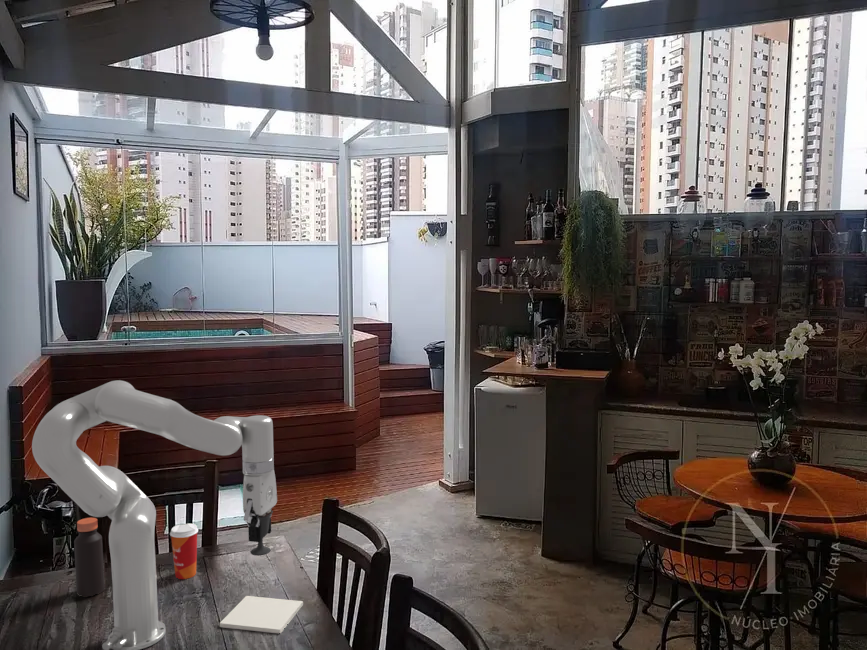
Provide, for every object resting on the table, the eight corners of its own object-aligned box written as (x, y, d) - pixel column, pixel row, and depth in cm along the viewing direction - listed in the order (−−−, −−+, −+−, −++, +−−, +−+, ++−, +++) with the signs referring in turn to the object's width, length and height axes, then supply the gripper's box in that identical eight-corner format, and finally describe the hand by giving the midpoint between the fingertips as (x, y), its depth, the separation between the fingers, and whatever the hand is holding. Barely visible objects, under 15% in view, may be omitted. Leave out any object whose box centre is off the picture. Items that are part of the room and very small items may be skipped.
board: (280, 633, 160) (280, 629, 160) (219, 627, 163) (219, 623, 163) (303, 604, 174) (303, 601, 174) (246, 599, 177) (246, 595, 177)
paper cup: (170, 572, 193) (168, 525, 192) (198, 567, 196) (196, 521, 195) (172, 583, 186) (170, 535, 185) (201, 578, 189) (199, 530, 188)
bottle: (103, 595, 180) (99, 523, 178) (75, 599, 177) (71, 527, 176) (105, 584, 186) (102, 514, 184) (78, 588, 184) (74, 518, 182)
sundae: (277, 546, 170) (276, 489, 169) (268, 557, 163) (267, 498, 162) (252, 545, 171) (251, 488, 169) (242, 556, 164) (241, 497, 163)
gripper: (256, 477, 156) (258, 552, 158) (286, 457, 173) (288, 525, 174) (227, 475, 158) (229, 549, 159) (259, 455, 174) (261, 523, 176)
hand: (260, 536), depth 167 cm, fingers closed on sundae, 4 cm apart
